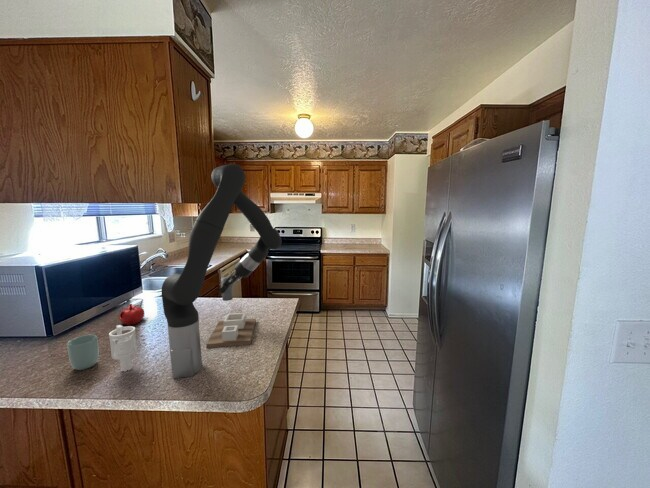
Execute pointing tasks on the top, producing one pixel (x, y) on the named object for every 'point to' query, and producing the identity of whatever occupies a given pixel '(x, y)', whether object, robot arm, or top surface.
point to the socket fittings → (233, 326)
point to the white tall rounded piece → (123, 346)
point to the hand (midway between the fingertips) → (223, 290)
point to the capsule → (227, 291)
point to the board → (242, 339)
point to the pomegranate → (131, 315)
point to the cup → (83, 351)
